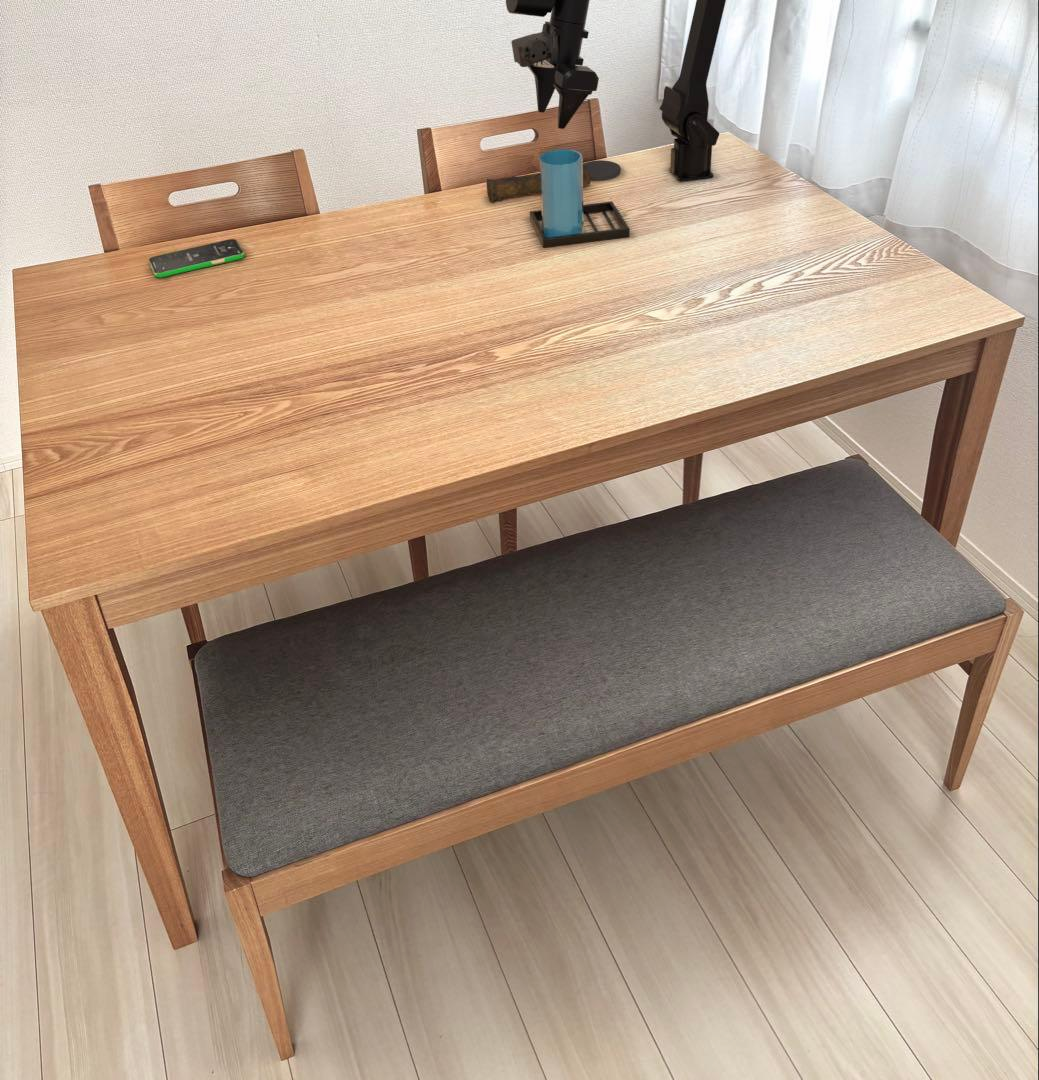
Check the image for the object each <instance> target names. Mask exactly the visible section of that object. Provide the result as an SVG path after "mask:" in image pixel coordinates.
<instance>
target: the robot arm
mask: <svg viewBox="0 0 1039 1080" xmlns="http://www.w3.org/2000/svg"><path fill="white" fill-rule="evenodd" d="M590 1H591V0H505V6H506V10H507V12H508V13H509V14H514V15H523V16H531V17H539V18H544V17H546V15H547V14H550V18H549V21H546V20H545V21H544V23H543V24H542V29H541V31H540V32H537V33H531V34H528V35H525V36H521V37H518V38H514V39H512V40H511V41H510V43H511V48H512V54H513V61H514V63H517V64H518V65H519V67H521V68H528V69H529V71H530V72H531V74H532V75H533V78H534V85H535V93H536V103H537V111H538V112H539V113H545V112H546V110H547V108H548V106H549V104H550V102H551V99H552V97H553V95H554V93H555V90H556V92H557V93H558V113H557V128H558V129H561V130H564V129H566V128H567V126H568V124H569V123H570V121H571V120H572V118H573V117H574V116H575V114H576V113H577V111H578V109H579V108H580V107H581V106H582V104H583V103H584V102H585V101H586V99H587V98H588V97H589V96H590V95H592V94H593V92H597V90H598V86H599V81H600V78H599V76H598V75H597V73H596V71H594V70H593V69H592V68H590V67H588V66H586V65H583V64H584V60H585V59H584V58H583V57H582V56H581V51H582V44H583V39H588V38H589V33H590V32H589V31H588V30H586V22H587V17H588V12H589V6H590ZM726 2H727V0H696V1H695V5H694V10H693V14H692V18H691V24H690V28H689V33H688V37H687V41H686V46H685V49H684V55H683V59H682V60H683V61H682V64H681V68H680V72H679V76H678V79H677V80H676V82H675V83H674V84H673V86H668V85H666V86H665V87H664V90H663V97H662V98H663V99H662V102H661V105H660V106H659V111H661V120H662V121H663V123H664V125H665V126H666V127H667V128H669V131H670V134H671V135H672V136H673V137H675V138H674V139H673V147H671V148H670V161H669V162H670V166H669V170H670V172H671V173H672V174H673V175H674V177H675V178H676V179H677V181H679V182H687V181H696V180H697V181H698V180H704V179H711V178H714V175H715V174H714V173H713V172H712V170H711V169H712V155H713V146H716V145H717V142H718V139H719V137H720V131H718V130H717V129H716V127H714V126H713V125H712V124H711V123H710V122H709V121H708V118H709V108H710V102H709V95H708V88H707V83H708V78H709V74H710V69H711V65H712V62H713V57H714V53H715V48H716V44H717V40H718V36H719V31H720V28H721V23H722V19H723V15H724V11H725V6H726Z"/></svg>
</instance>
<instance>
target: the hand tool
mask: <svg viewBox="0 0 1039 1080" xmlns="http://www.w3.org/2000/svg"><path fill="white" fill-rule="evenodd" d="M590 184H591V180H590V173H589V172H588V170H587V167H586V166H585V165H584V163H583V188H585V187H588V186H590ZM486 193H487V197H488V201H490V202H491V203H493V202H494V201H502V200H503V199H508V198H513V197H518V196H525V195H532V194H537V193H538V194H539V193H541V185H540V172H536V173H529V174H523V175H518V176H517V175H516V176H514V175H513V176H510V177H509V176H508V177H502V178H496V179H491V178H486Z"/></svg>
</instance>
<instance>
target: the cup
mask: <svg viewBox="0 0 1039 1080" xmlns="http://www.w3.org/2000/svg"><path fill="white" fill-rule="evenodd" d="M583 157H584V156H583V154H582V153H581V152H579V151H578V150H574V149H569V148H568V149H567V148H562V149H561V148H560V149H551V150H549V151H545V152H544V153H542V154H541V155H539V158H538V159H539V173H540V185H541V192H540V205H541V206H540V208H541V209H540V210H542V220H541V229H542V232H543V234H544V236H545V238H549V237H556V236H564V235H572V234H580V233H584V230H585V227H584V226H585V222H584V221H585V220H584V215H585V214H583V205H584V187H583V164H584V162H583V161H584V159H583Z"/></svg>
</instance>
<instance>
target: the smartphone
mask: <svg viewBox="0 0 1039 1080" xmlns="http://www.w3.org/2000/svg"><path fill="white" fill-rule="evenodd" d="M245 256H246V254H245V252H244V250H243V249H242V247H241V245H240V243H239V242H238V240H237V239H235V238H228V239H225V240H220V241H216V242H215V241H214V242H211V243H208V244H203V245H198V246H193V247H189V248H185V249H180V250H175V251H172V252H171V251H170V252H167V253H163V254H157V255H155V256H152V257H149V259H148V263H149V267H150V268H151V271H152V274H153V275H154V277H155V278H158V279H160V278H166V277H170V276H174V275H178V274H183V273H187V272H192V271H196V270H199V269H205V268H209V267H213V266H218V265H222V264H226V263H230V262H231V263H232V262H235V261H238V260H242V259H243V258H245Z"/></svg>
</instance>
